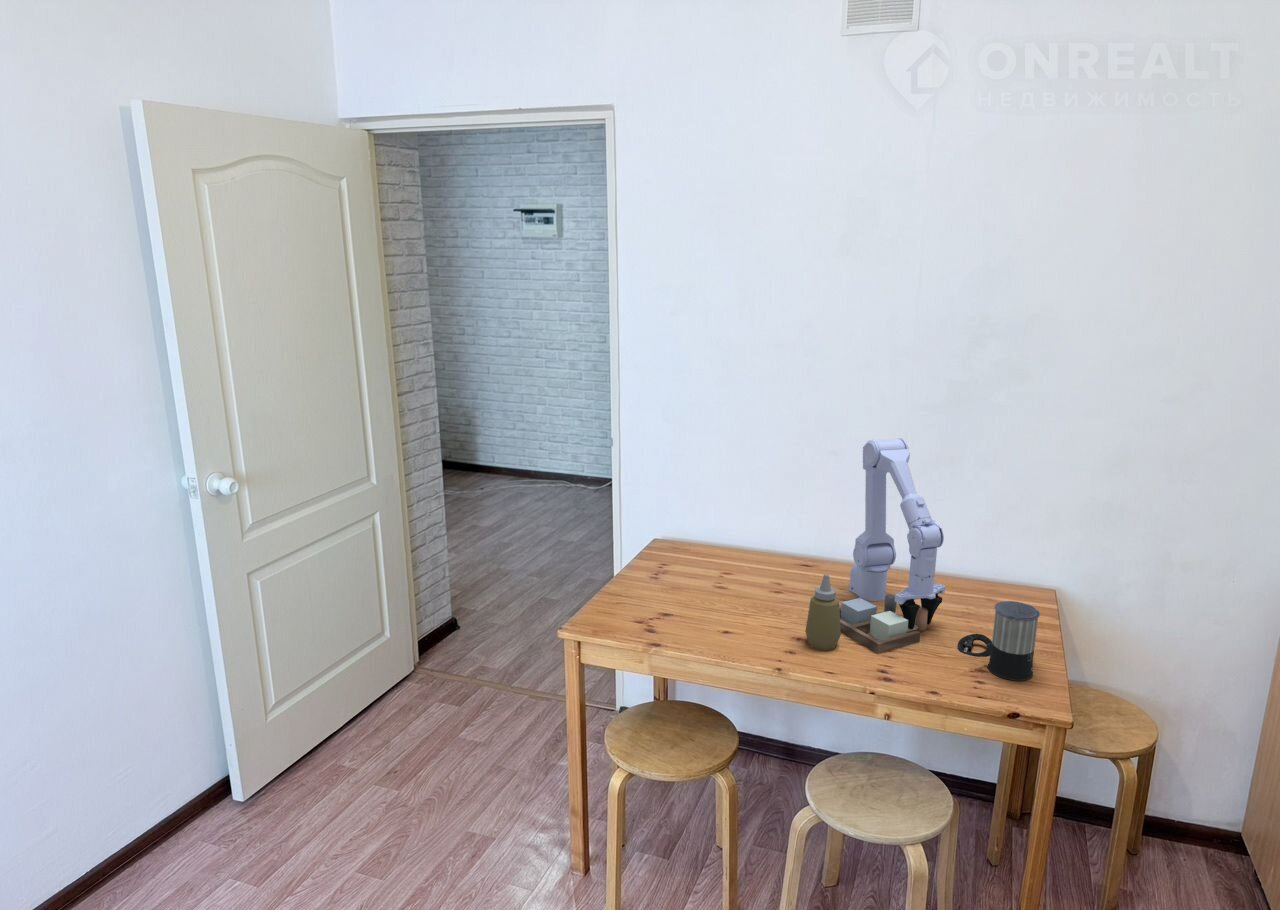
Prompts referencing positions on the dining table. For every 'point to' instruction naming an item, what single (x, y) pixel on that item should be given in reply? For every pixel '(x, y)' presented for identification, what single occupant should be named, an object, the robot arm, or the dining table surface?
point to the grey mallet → (864, 609)
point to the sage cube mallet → (895, 624)
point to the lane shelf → (860, 636)
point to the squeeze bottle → (823, 617)
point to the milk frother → (1008, 641)
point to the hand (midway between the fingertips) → (917, 625)
